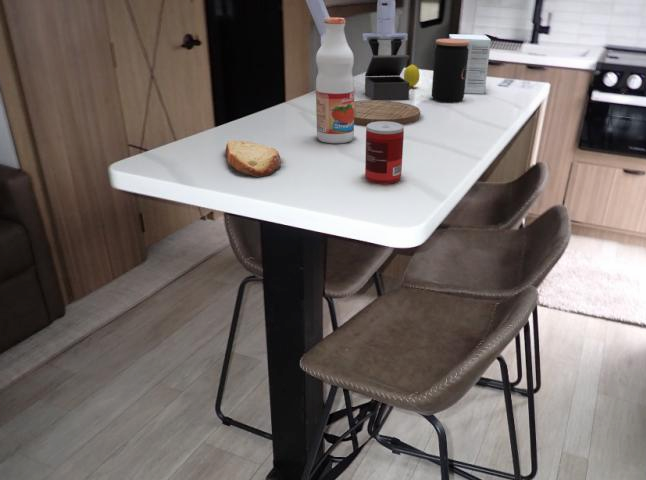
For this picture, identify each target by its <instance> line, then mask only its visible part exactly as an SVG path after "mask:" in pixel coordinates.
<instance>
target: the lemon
mask: <svg viewBox="0 0 646 480" xmlns="http://www.w3.org/2000/svg"><path fill="white" fill-rule="evenodd" d="M420 75H421V74H420V70H419V68H418V66H417V65H414V64H413V63H411V64H410V65H408V66H407V67H406V68H405V70H404V73H403V79H404V80H406V81H408V82H409V89H410V88H411V89H412V88H414V86H416V85H417V84H418V83H419V81H420V77H421V76H420Z"/></svg>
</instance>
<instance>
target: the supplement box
mask: <svg viewBox="0 0 646 480" xmlns="http://www.w3.org/2000/svg"><path fill="white" fill-rule="evenodd" d="M448 39H462V40H468V41H469V45H468V46H467V48H468V50H469V51H468V61H467V71H466V81H465V90H464V94H478V95H479V94H481V95H483V94H486V84H487V76H488V67H489V60H490V50H491V44H492V39H491V38H489V36H487V35H486V34H460V33H459V34H458V33H457V34H454V33H452V34H451V33H450V34H448Z"/></svg>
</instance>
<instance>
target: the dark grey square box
mask: <svg viewBox="0 0 646 480" xmlns="http://www.w3.org/2000/svg"><path fill="white" fill-rule="evenodd" d="M364 94H365V95H366V97H368V98H369V99H370V100H384V101H408V100H410V87H409V82H408V81H406V80H404V77H403V78H402V77H401V75H400V76H370V77H364Z"/></svg>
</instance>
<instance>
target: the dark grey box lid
mask: <svg viewBox="0 0 646 480" xmlns="http://www.w3.org/2000/svg"><path fill="white" fill-rule="evenodd" d="M409 59H410V55H409V54H397V55H391V54H390V55H389V54H388V55H387V54H385V55H383V54H381V55H380V54H378V56H373V55H372V57H371V59H370V61H369V63H368V67H367V69H366V71H365V74H364V76H365V77H388V76H400V77H401V74H402V72H403V70H404V68H405V67H406V64H407V63H408V61H409ZM365 77H364V78H365Z"/></svg>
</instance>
